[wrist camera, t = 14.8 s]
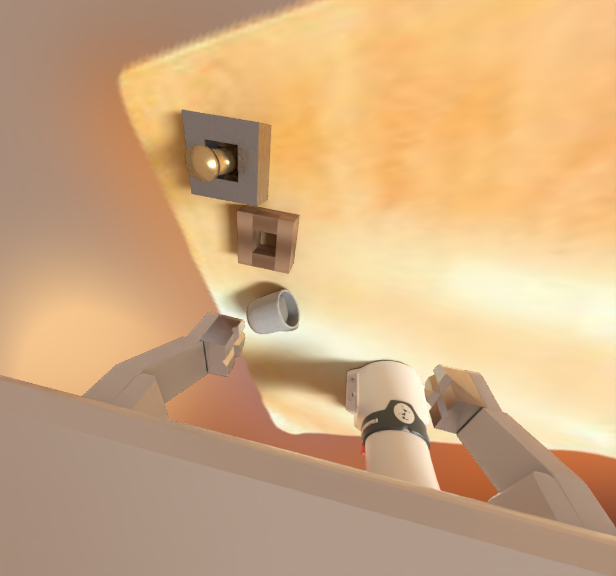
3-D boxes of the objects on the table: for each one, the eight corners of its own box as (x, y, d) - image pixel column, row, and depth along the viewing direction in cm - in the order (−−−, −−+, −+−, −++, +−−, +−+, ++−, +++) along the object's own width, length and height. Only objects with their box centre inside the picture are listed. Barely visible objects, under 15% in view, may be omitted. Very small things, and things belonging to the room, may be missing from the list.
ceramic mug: (252, 294, 49) (237, 317, 42) (285, 281, 46) (274, 305, 39) (278, 330, 53) (267, 356, 47) (309, 321, 50) (303, 348, 44)
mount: (293, 263, 43) (288, 273, 40) (247, 253, 44) (238, 263, 41) (299, 215, 38) (294, 221, 35) (247, 204, 39) (236, 210, 36)
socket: (267, 199, 38) (256, 206, 34) (209, 188, 39) (191, 193, 34) (271, 125, 33) (258, 122, 28) (203, 113, 33) (181, 109, 29)
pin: (249, 175, 37) (217, 184, 28) (225, 171, 37) (187, 179, 28) (248, 147, 35) (214, 147, 26) (224, 143, 35) (182, 142, 26)
